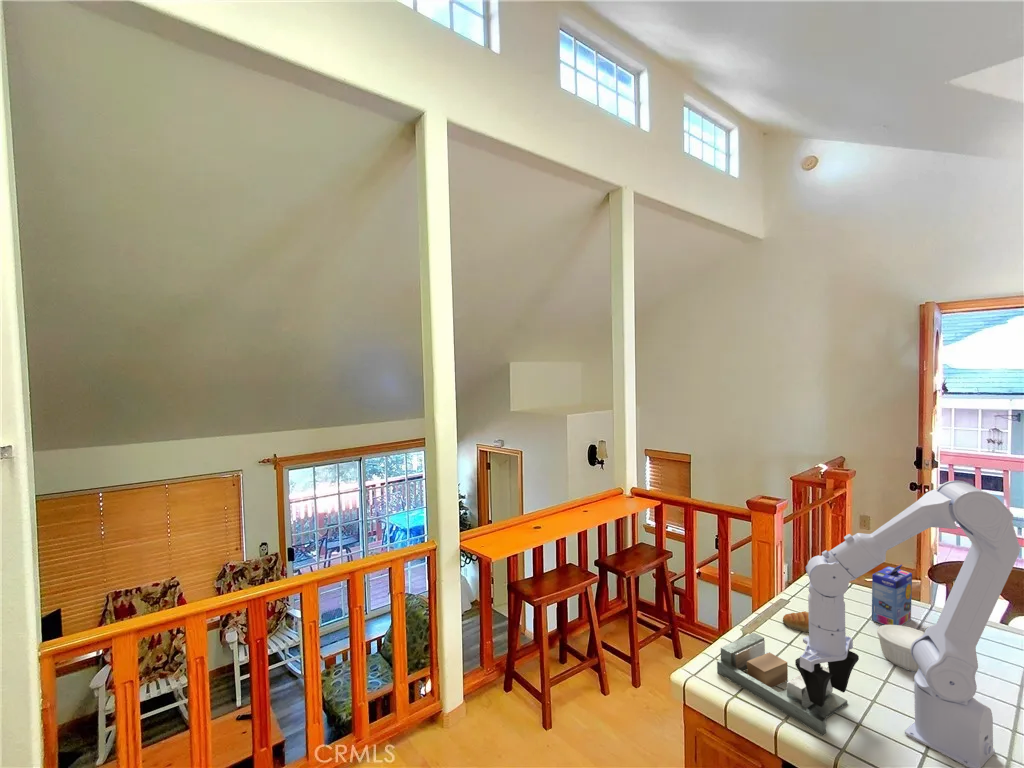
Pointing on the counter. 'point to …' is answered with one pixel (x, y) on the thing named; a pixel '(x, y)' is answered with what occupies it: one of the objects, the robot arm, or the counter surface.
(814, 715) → the vise body
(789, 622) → the pastry
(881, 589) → the ink cartridge box
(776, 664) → the block
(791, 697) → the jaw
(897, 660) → the ramekin
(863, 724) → the counter surface
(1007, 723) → the counter surface
